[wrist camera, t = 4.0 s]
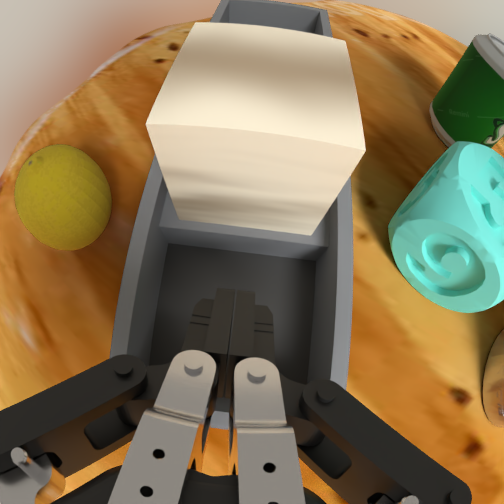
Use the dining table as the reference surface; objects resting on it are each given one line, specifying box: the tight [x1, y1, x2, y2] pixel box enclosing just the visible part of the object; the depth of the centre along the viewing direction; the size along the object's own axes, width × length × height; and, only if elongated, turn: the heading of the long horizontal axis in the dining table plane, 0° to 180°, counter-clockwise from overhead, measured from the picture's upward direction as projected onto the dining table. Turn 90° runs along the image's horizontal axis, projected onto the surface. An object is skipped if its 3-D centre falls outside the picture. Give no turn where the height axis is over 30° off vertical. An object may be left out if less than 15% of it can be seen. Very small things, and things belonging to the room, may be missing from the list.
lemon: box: [14, 144, 112, 251], centre depth 15 cm, size 6×6×8 cm
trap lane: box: [110, 0, 353, 429], centre depth 19 cm, size 35×11×4 cm, turn 174°
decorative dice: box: [388, 141, 504, 313], centre depth 16 cm, size 8×8×8 cm
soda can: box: [429, 34, 504, 148], centre depth 18 cm, size 8×8×12 cm
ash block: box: [146, 22, 366, 236], centre depth 13 cm, size 7×7×8 cm
